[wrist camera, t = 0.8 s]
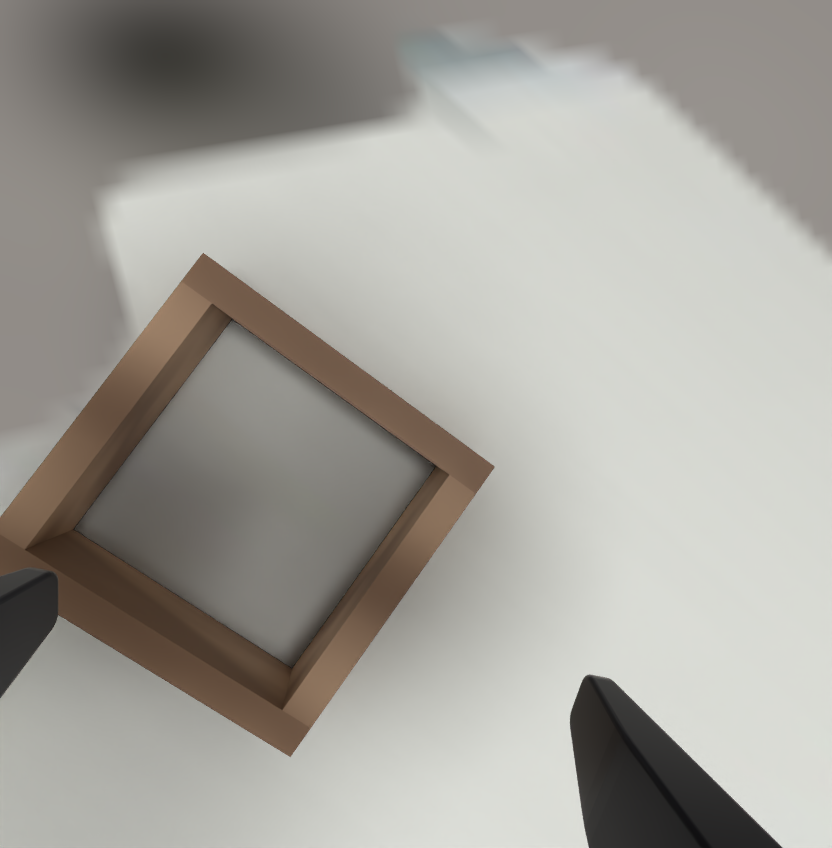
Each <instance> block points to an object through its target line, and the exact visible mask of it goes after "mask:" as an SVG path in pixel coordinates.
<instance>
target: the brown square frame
mask: <svg viewBox="0 0 832 848" xmlns="http://www.w3.org/2000/svg"><path fill="white" fill-rule="evenodd" d="M232 319H233V320H234V321H236V322H237V323H238V324H240V325H241V326H243V327H244V328H245V329H247V330H248V331H249V332H251V333H252V334H254V335H255V336H256V337H258V338H259V339H261V340H262V341H263V342H265V343H266V344H267V345H269V346H270V347H272V348H273V349H274V350H276V351H277V352H279V353H280V354H281V355H283V356H284V357H285V358H287V359H288V360H290V361H291V362H292V363H294V364H295V365H297V366H298V367H299V368H301V369H302V370H304V371H305V372H306V373H308V374H309V375H310V376H312V377H313V378H315V379H316V380H317V381H319V382H320V383H322V384H323V385H324V386H326V387H327V388H328V389H330V390H331V391H333V392H334V393H335V394H337V395H338V396H340V397H341V398H342V399H344V400H345V401H346V402H348V403H349V404H351V405H352V406H353V407H355V408H356V409H358V410H359V411H360V412H362V413H363V414H365V415H366V416H367V417H369V418H370V419H371V420H373V421H374V422H376V423H377V424H378V425H380V426H381V427H383V428H384V429H385V430H387V431H388V432H389V433H391V434H392V435H394V436H395V437H396V438H398V439H399V440H401V441H402V442H403V443H405V444H406V445H407V446H409V447H410V448H412V449H413V450H414V451H416V452H417V453H419V454H420V455H421V456H423V457H424V458H426V459H427V460H428V461H430V462H431V463H432V464H434V465H435V466H436V467H435V469H434V470H433V472H432V473H431V474H430V476H429V477H428V479H427V480H426V481H425V483H424V484H423V486H422V487H421V488H420V490H419V491H418V493H417V494H416V495H415V497H414V498H413V500H412V501H411V502H410V504H409V505H408V507H407V508H406V509H405V511H404V512H403V514H402V515H401V516H400V518H399V519H398V521H397V522H396V523H395V525H394V526H393V528H392V529H391V530H390V532H389V533H388V535H387V536H386V537H385V539H384V540H383V542H382V543H381V545H380V546H379V547H378V549H377V550H376V552H375V553H374V554H373V556H372V557H371V559H370V560H369V561H368V563H367V564H366V566H365V567H364V568H363V570H362V571H361V573H360V574H359V575H358V577H357V578H356V580H355V581H354V582H353V584H352V585H351V587H350V588H349V589H348V591H347V592H346V594H345V595H344V596H343V598H342V599H341V601H340V602H339V603H338V605H337V606H336V608H335V609H334V610H333V612H332V613H331V615H330V616H329V617H328V619H327V620H326V622H325V623H324V624H323V626H322V627H321V629H320V630H319V632H318V633H317V634H316V636H315V637H314V639H313V640H312V641H311V643H310V644H309V646H308V647H307V648H306V650H305V651H304V653H303V654H302V655H301V657H300V658H299V660H298V661H297V662H296V664H295V665H294V667H293V668H290V667H289V666H287V665H285V664H284V663H282V662H281V661H279V660H278V659H276V658H274V657H273V656H271V655H270V654H268V653H267V652H265V651H263V650H262V649H260V648H259V647H257V646H256V645H254V644H252V643H251V642H249V641H248V640H246V639H245V638H243V637H241V636H240V635H238V634H237V633H235V632H234V631H232V630H230V629H229V628H227V627H226V626H224V625H223V624H221V623H219V622H218V621H216V620H215V619H213V618H212V617H210V616H208V615H207V614H205V613H204V612H202V611H201V610H199V609H197V608H196V607H194V606H193V605H191V604H190V603H188V602H186V601H185V600H183V599H182V598H180V597H179V596H177V595H175V594H174V593H172V592H171V591H169V590H168V589H166V588H164V587H163V586H161V585H160V584H158V583H157V582H155V581H153V580H152V579H150V578H149V577H147V576H146V575H144V574H142V573H141V572H139V571H138V570H136V569H135V568H133V567H131V566H130V565H128V564H127V563H125V562H124V561H122V560H121V559H119V558H117V557H116V556H114V555H113V554H111V553H110V552H108V551H106V550H105V549H103V548H102V547H100V546H99V545H97V544H95V543H94V542H92V541H91V540H89V539H88V538H86V537H84V536H83V535H81V534H80V533H78V532H77V531H75V530H73V529H74V528H75V526H76V525H77V524H78V522H79V521H80V520H81V518H82V517H83V516H84V514H85V513H86V512H87V510H88V509H89V508H90V506H91V505H92V504H93V502H94V501H95V500H96V498H97V497H98V496H99V494H100V493H101V492H102V490H103V489H104V488H105V486H106V485H107V484H108V483H109V481H110V480H111V479H112V477H113V476H114V475H115V473H116V472H117V471H118V469H119V468H120V467H121V465H122V464H123V463H124V461H125V460H126V459H127V457H128V456H129V455H130V453H131V452H132V451H133V449H134V448H135V447H136V445H137V444H138V443H139V441H140V440H141V439H142V437H143V436H144V435H145V434H146V432H147V431H148V430H149V428H150V427H151V426H152V424H153V423H154V422H155V420H156V419H157V418H158V416H159V415H160V414H161V412H162V411H163V410H164V408H165V407H166V406H167V404H168V403H169V402H170V400H171V399H172V398H173V396H174V395H175V394H176V392H177V391H178V390H179V388H180V387H181V386H182V385H183V383H184V382H185V381H186V379H187V378H188V377H189V375H190V374H191V373H192V371H193V370H194V369H195V367H196V366H197V365H198V363H199V362H200V361H201V359H202V358H203V357H204V355H205V354H206V353H207V351H208V350H209V349H210V347H211V346H212V345H213V343H214V342H215V341H216V339H217V338H218V337H219V336H220V334H221V333H222V332H223V330H224V329H225V328H226V326H227V325H228V324H229V322H230V321H231V320H232ZM493 469H494V466H493V465H492V464H490V463H489V462H488V461H486V460H485V459H484V458H482V457H481V456H479V455H478V454H477V453H475V452H474V451H473V450H471V449H470V448H469V447H467V446H466V445H464V444H463V443H462V442H460V441H459V440H458V439H456V438H455V437H454V436H452V435H451V434H449V433H448V432H447V431H445V430H444V429H443V428H441V427H440V426H439V425H437V424H436V423H434V422H433V421H432V420H430V419H429V418H428V417H426V416H425V415H424V414H422V413H421V412H419V411H418V410H417V409H415V408H414V407H413V406H411V405H410V404H409V403H407V402H406V401H404V400H403V399H402V398H400V397H399V396H398V395H396V394H395V393H394V392H392V391H391V390H389V389H388V388H387V387H385V386H384V385H383V384H381V383H380V382H379V381H377V380H376V379H374V378H373V377H372V376H370V375H369V374H368V373H366V372H365V371H364V370H362V369H361V368H359V367H358V366H357V365H355V364H354V363H353V362H351V361H350V360H349V359H347V358H346V357H344V356H343V355H342V354H340V353H339V352H338V351H336V350H335V349H334V348H332V347H331V346H329V345H328V344H327V343H325V342H324V341H323V340H321V339H320V338H319V337H317V336H316V335H314V334H313V333H312V332H310V331H309V330H308V329H306V328H305V327H304V326H302V325H301V324H299V323H298V322H297V321H295V320H294V319H293V318H291V317H290V316H289V315H287V314H286V313H284V312H283V311H282V310H280V309H279V308H278V307H276V306H275V305H274V304H272V303H271V302H270V301H268V300H267V299H265V298H264V297H263V296H261V295H260V294H259V293H257V292H256V291H255V290H253V289H252V288H250V287H249V286H248V285H246V284H245V283H244V282H242V281H241V280H240V279H238V278H237V277H235V276H234V275H233V274H231V273H230V272H229V271H227V270H226V269H225V268H223V267H222V266H220V265H219V264H218V263H216V262H215V261H214V260H212V259H211V258H210V257H208V256H207V255H205V254H204V253H203V254H202V255H201V256H200V258H199V259H198V260H197V261H196V263H195V264H194V265H193V267H192V268H191V269H190V271H189V272H188V273H187V275H186V276H185V277H184V278H183V280H182V281H181V282H180V284H179V285H178V286H177V288H176V289H175V290H174V291H173V293H172V294H171V295H170V297H169V298H168V299H167V301H166V302H165V303H164V305H163V306H162V307H161V308H160V310H159V311H158V312H157V314H156V315H155V316H154V318H153V319H152V320H151V322H150V323H149V324H148V325H147V327H146V328H145V329H144V331H143V332H142V333H141V335H140V336H139V337H138V338H137V340H136V341H135V342H134V344H133V345H132V346H131V348H130V349H129V350H128V352H127V353H126V354H125V355H124V357H123V358H122V359H121V361H120V362H119V363H118V365H117V366H116V367H115V369H114V370H113V371H112V372H111V374H110V375H109V376H108V378H107V379H106V380H105V382H104V383H103V384H102V385H101V387H100V388H99V389H98V391H97V392H96V393H95V395H94V396H93V397H92V399H91V400H90V401H89V402H88V404H87V405H86V406H85V408H84V409H83V410H82V412H81V413H80V414H79V416H78V417H77V418H76V419H75V421H74V422H73V423H72V425H71V426H70V427H69V429H68V430H67V431H66V432H65V434H64V435H63V436H62V438H61V439H60V440H59V442H58V443H57V444H56V446H55V447H54V448H53V449H52V451H51V452H50V453H49V455H48V456H47V457H46V459H45V460H44V461H43V462H42V464H41V465H40V466H39V468H38V469H37V470H36V472H35V473H34V474H33V476H32V477H31V478H30V479H29V481H28V482H27V483H26V485H25V486H24V487H23V489H22V490H21V491H20V493H19V494H18V495H17V496H16V498H15V499H14V500H13V502H12V503H11V504H10V506H9V507H8V508H7V509H6V511H5V512H4V513H3V515H2V516H1V517H0V576H2V575H5V574H9V573H12V572H15V571H18V570H21V569H24V568H29V567H33V568H39V569H44V570H49V571H53V572H55V573H56V574H57V576H58V615H59V616H61V617H63V618H64V619H66V620H67V621H69V622H71V623H72V624H74V625H76V626H77V627H79V628H81V629H82V630H84V631H85V632H87V633H89V634H90V635H92V636H94V637H95V638H97V639H98V640H100V641H102V642H103V643H105V644H107V645H108V646H110V647H112V648H113V649H115V650H116V651H118V652H120V653H121V654H123V655H125V656H126V657H128V658H130V659H131V660H133V661H134V662H136V663H138V664H139V665H141V666H143V667H144V668H146V669H147V670H149V671H151V672H152V673H154V674H156V675H157V676H159V677H161V678H162V679H164V680H165V681H167V682H169V683H170V684H172V685H174V686H175V687H177V688H179V689H180V690H182V691H183V692H185V693H187V694H188V695H190V696H192V697H193V698H195V699H196V700H198V701H200V702H201V703H203V704H205V705H206V706H208V707H210V708H211V709H213V710H214V711H216V712H218V713H219V714H221V715H223V716H224V717H226V718H228V719H229V720H231V721H232V722H234V723H236V724H237V725H239V726H241V727H242V728H244V729H245V730H247V731H249V732H250V733H252V734H254V735H255V736H257V737H259V738H260V739H262V740H263V741H265V742H267V743H268V744H270V745H272V746H273V747H275V748H277V749H278V750H280V751H281V752H283V753H285V754H286V755H288V756H290V757H291V755H292V754H293V752H294V751H295V750H296V748H297V747H298V745H299V744H300V742H301V741H302V740H303V738H304V737H305V735H306V734H307V733H308V731H309V730H310V728H311V727H312V725H313V724H314V723H315V721H316V720H317V718H318V717H319V715H320V714H321V713H322V711H323V710H324V708H325V707H326V706H327V704H328V703H329V701H330V700H331V698H332V697H333V696H334V694H335V693H336V691H337V690H338V689H339V687H340V686H341V684H342V683H343V681H344V680H345V679H346V677H347V676H348V674H349V673H350V672H351V670H352V669H353V667H354V666H355V664H356V663H357V662H358V660H359V659H360V657H361V656H362V654H363V653H364V652H365V650H366V649H367V647H368V646H369V645H370V643H371V642H372V640H373V639H374V637H375V636H376V635H377V633H378V632H379V630H380V629H381V628H382V626H383V625H384V623H385V622H386V620H387V619H388V618H389V616H390V615H391V613H392V612H393V610H394V609H395V608H396V606H397V605H398V603H399V602H400V601H401V599H402V598H403V596H404V595H405V593H406V592H407V591H408V589H409V588H410V586H411V585H412V584H413V582H414V581H415V579H416V578H417V576H418V575H419V574H420V572H421V571H422V569H423V568H424V567H425V565H426V564H427V562H428V561H429V559H430V558H431V557H432V555H433V554H434V552H435V551H436V549H437V548H438V547H439V545H440V544H441V542H442V541H443V540H444V538H445V537H446V535H447V534H448V532H449V531H450V530H451V528H452V527H453V525H454V524H455V523H456V521H457V520H458V518H459V517H460V515H461V514H462V513H463V511H464V510H465V508H466V507H467V505H468V504H469V503H470V501H471V500H472V498H473V497H474V496H475V494H476V493H477V491H478V490H479V488H480V487H481V486H482V484H483V483H484V481H485V480H486V479H487V477H488V476H489V474H490V473H491V471H492V470H493Z"/></svg>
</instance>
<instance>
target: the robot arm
mask: <svg viewBox="0 0 832 848" xmlns="http://www.w3.org/2000/svg"><path fill="white" fill-rule="evenodd" d="M57 617H58V576H57V574H56V573H55V572H53V571H49V570H44V569H39V568H33V567H29V568H24V569H21V570H18V571H15V572H12V573H9V574H5V575H2V576H0V698H1V697H2V695H3V694H4V693H5V691H6V690H7V689H8V687H9V686H10V685H11V683H12V682H13V681H14V679H15V678H16V677H17V675H18V674H19V673H20V671H21V670H22V669H23V667H24V666H25V665H26V663H27V662H28V661H29V659H30V658H31V657H32V655H33V654H34V653H35V651H36V650H37V649H38V647H39V646H40V644H41V643H42V642H43V640H44V639H45V638H46V636H47V635H48V634H49V632H50V631H51V630H52V628H53V627H54V625H55V623H56V620H57ZM570 729H571V737H572V744H573V751H574V758H575V765H576V772H577V780H578V787H579V794H580V801H581V808H582V815H583V821H584V827H585V832H586V836H587V841H588V846H589V848H782V847H781V846H780V845H779V844H778V843H777V842H776V841H775V840H774V839H773V838H772V837H771V836H770V835H769V834H768V833H767V832H766V831H765V830H764V829H763V828H762V827H761V826H760V825H759V824H758V823H757V822H756V821H755V820H754V819H753V818H752V817H751V816H750V815H749V814H748V813H747V812H746V811H745V810H744V809H743V808H742V807H741V806H740V805H739V804H738V803H737V802H736V801H735V800H734V799H733V798H732V797H731V796H730V795H729V794H728V793H727V792H725V791H724V790H723V789H722V788H721V787H720V786H719V785H718V784H717V783H716V782H715V781H714V780H713V779H712V778H711V777H710V776H709V775H708V774H707V773H706V772H705V771H704V770H703V769H702V768H701V767H700V766H699V765H698V764H697V763H696V762H695V761H694V760H693V759H692V758H691V757H690V756H689V755H688V754H687V753H686V752H685V751H684V750H683V749H682V748H681V747H680V746H679V745H678V744H677V743H676V742H675V741H674V740H673V739H672V738H671V737H670V736H669V735H668V734H667V733H666V732H665V731H663V730H662V729H661V728H660V727H659V726H658V725H657V724H656V723H655V722H654V721H653V720H652V719H651V718H650V717H649V716H648V715H647V714H646V713H645V712H644V711H643V710H642V709H641V708H640V707H639V706H638V705H637V704H636V703H635V702H634V701H633V700H632V699H631V698H630V697H629V696H628V695H627V694H626V693H625V692H624V691H623V690H622V689H621V688H620V687H619V686H618V685H617V684H616V683H615V682H614V681H612V680H611V679H609V678H605V677H600V676H595V675H587V676H585V677H584V679H583V681H582V683H581V686H580V688H579V691H578V694H577V697H576V699H575V702H574V705H573V708H572V711H571V715H570Z"/></svg>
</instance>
